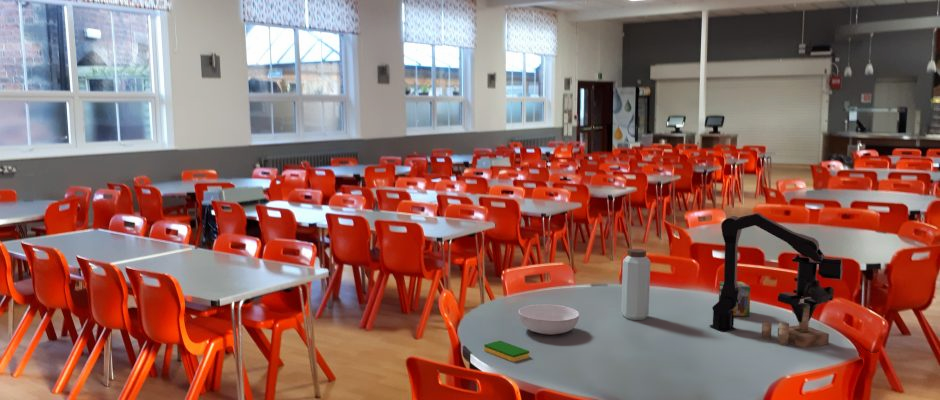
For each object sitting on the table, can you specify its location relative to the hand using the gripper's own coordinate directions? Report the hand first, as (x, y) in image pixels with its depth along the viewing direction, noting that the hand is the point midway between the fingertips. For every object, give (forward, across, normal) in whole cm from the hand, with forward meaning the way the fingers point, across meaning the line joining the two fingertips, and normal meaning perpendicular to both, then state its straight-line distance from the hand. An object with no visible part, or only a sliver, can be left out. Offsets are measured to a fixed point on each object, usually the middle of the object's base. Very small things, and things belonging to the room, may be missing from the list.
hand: (803, 321), depth 248 cm
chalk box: (+7, +2, +35) cm, 36 cm away
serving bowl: (+7, -74, +40) cm, 85 cm away
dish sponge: (+8, -98, +23) cm, 101 cm away
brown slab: (+7, 0, 0) cm, 7 cm away
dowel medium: (+7, -8, 0) cm, 11 cm away
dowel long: (+4, 0, 0) cm, 4 cm away
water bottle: (+7, -36, +44) cm, 58 cm away
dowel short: (+7, -8, +7) cm, 13 cm away
